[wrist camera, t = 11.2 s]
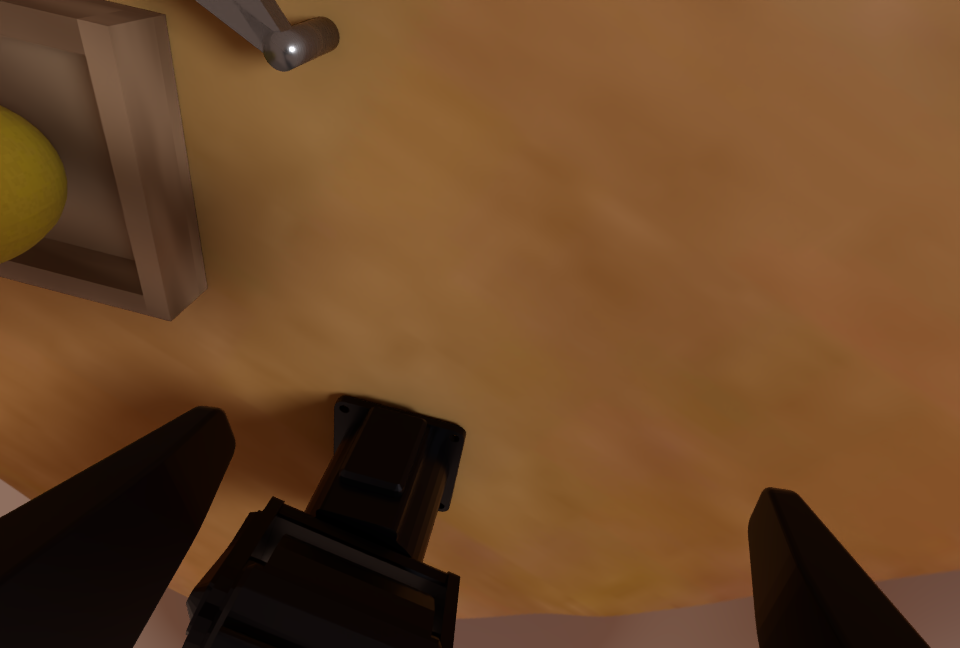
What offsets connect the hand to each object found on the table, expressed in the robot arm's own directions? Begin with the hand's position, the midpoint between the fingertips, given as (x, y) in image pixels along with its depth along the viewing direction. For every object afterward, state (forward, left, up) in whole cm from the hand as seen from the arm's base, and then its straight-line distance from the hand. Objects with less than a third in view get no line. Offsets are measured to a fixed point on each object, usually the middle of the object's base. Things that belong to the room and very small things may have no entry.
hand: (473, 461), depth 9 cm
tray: (-3, +19, -12) cm, 23 cm away
